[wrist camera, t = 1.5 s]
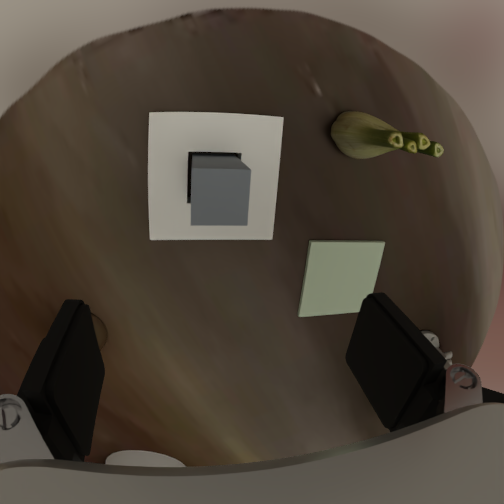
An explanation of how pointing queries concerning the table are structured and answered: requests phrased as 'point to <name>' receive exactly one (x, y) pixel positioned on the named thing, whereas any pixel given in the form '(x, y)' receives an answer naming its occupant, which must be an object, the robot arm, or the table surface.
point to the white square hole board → (211, 140)
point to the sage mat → (338, 276)
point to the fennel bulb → (376, 137)
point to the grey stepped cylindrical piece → (142, 459)
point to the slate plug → (219, 190)
